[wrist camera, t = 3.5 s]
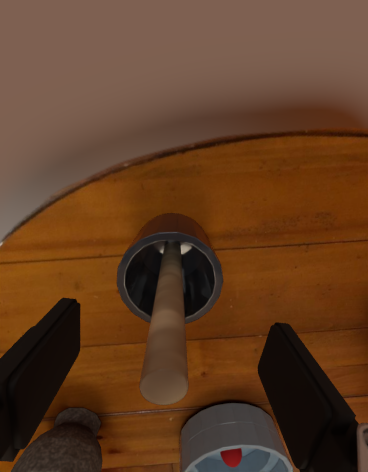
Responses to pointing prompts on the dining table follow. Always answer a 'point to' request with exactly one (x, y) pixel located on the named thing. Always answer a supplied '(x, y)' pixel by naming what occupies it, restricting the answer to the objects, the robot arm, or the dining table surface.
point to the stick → (166, 336)
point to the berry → (232, 457)
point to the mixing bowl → (232, 440)
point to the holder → (149, 262)
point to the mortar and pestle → (65, 445)
